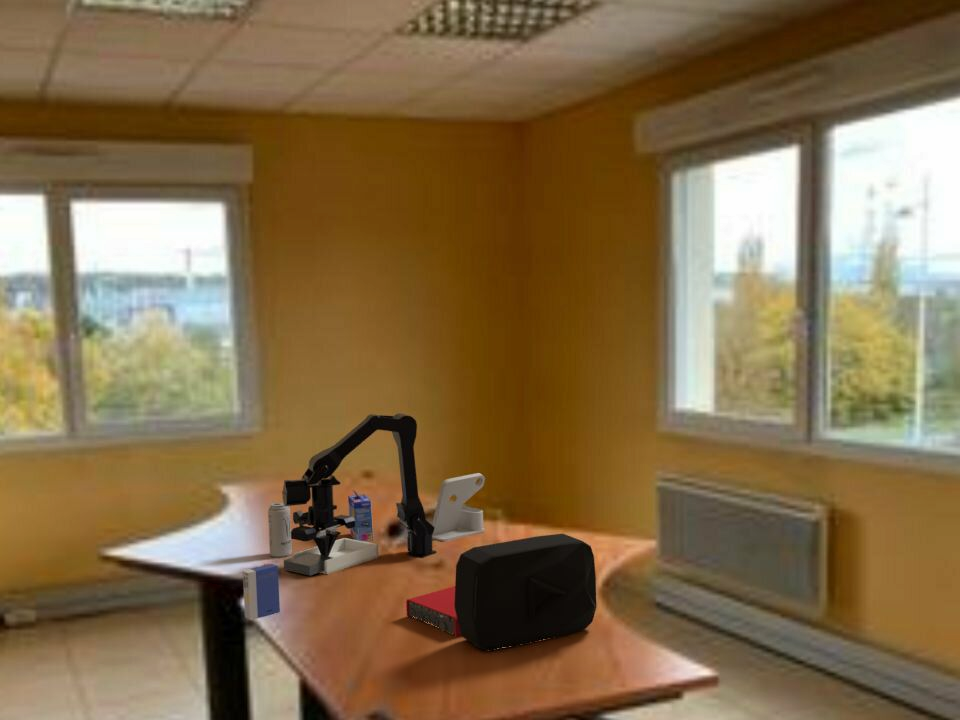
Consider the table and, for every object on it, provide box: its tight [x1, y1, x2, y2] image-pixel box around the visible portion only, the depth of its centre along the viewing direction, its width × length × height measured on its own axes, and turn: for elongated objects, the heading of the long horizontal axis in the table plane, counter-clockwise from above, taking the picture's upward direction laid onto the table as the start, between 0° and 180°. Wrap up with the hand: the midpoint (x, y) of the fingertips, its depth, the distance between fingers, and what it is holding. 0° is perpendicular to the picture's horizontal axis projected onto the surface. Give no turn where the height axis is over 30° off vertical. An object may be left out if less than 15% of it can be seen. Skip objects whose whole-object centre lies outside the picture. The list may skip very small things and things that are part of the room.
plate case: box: [291, 537, 379, 575], centre depth 269 cm, size 13×20×4 cm
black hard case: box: [454, 533, 598, 651], centre depth 208 cm, size 30×12×20 cm, turn 118°
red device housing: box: [405, 585, 461, 637], centre depth 220 cm, size 18×14×5 cm
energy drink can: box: [267, 501, 293, 558], centre depth 277 cm, size 6×6×15 cm
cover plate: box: [283, 552, 333, 577], centre depth 261 cm, size 10×9×2 cm
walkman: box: [242, 562, 281, 621], centre depth 226 cm, size 8×3×12 cm, turn 133°
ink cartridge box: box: [347, 489, 374, 542], centre depth 295 cm, size 10×6×14 cm, turn 19°
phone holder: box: [431, 472, 486, 542], centre depth 297 cm, size 17×10×18 cm, turn 132°
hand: (325, 559), depth 265 cm, fingers closed
